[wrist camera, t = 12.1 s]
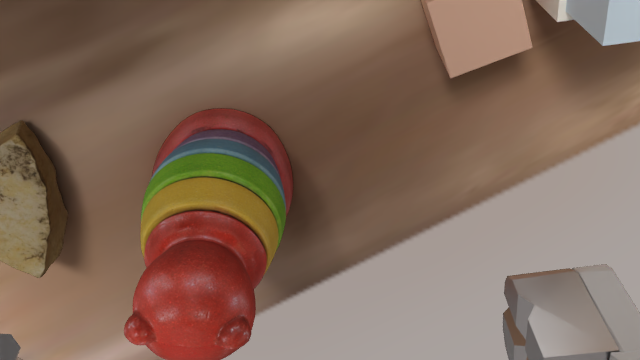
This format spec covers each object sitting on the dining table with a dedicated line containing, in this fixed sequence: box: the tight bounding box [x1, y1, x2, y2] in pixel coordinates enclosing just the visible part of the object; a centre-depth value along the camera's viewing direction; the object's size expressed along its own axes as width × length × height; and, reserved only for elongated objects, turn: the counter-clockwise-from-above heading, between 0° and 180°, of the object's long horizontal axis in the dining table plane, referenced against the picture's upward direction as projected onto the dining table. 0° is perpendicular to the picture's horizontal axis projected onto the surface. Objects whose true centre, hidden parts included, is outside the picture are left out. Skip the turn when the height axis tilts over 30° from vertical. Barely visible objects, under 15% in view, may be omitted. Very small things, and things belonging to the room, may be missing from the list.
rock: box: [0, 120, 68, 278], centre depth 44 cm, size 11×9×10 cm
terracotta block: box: [421, 0, 532, 78], centre depth 36 cm, size 5×5×5 cm
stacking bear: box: [124, 109, 293, 360], centre depth 38 cm, size 11×10×18 cm
